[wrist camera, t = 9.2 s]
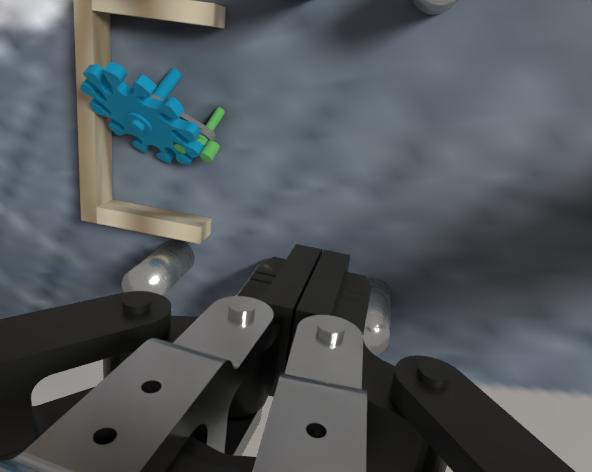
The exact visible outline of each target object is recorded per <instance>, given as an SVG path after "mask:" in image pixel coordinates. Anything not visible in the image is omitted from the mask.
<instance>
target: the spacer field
mask: <svg viewBox="0 0 592 472" xmlns="http://www.w3.org/2000/svg"><path fill="white" fill-rule="evenodd" d="M456 1H457V0H413V2H414V4H415V6H416V7H417V8H418V9H419V10H420V11H421V12H423V13H425V14H428V15H437V14H441V13H443V12H445V11H447V10H448V9H449V8H450V7H451V6H452V5H453V4H454V3H455V2H456ZM266 260H269V259H265V260H262V261H261V262H260V263H259V264H258V265H257V266H256V268H255V269H254V271H253V272H252V274H251V275H250V276H249V278H248V279H247V281H248V280H250V277H251V276H252V275H253V273H255V271H256V269H257V268H258V267H259V265H260V264H261V263H262V262H264V261H266ZM193 263H194V254H193V251H192V249H191V248H190V246H189V245H188V244H186V243H185V242H183V241H181V240H170V241H168V242H166V243H165V244H164V245H162V246H161V247H160V248H159V249H157V250H156V251H155V252H153V253H152V254H151V255H149V256H148V257H147V258H146V259H144V260H143V261H142V262H140V263H139V264H138V265H137V266H135V267H134V268H133V269H131V270H130V271H129V272H128V273H126V274H125V275H124V277H123V279H122V290H123V293H124V292H130V291H148V292H153V293H157V294H160V295H163V294H164V293H165V292H167V291H168V290H169V289H170V288H171V287H172V286H173V285H174V284H175V283H176V282H177V281H178V280H179V279H180V278H181V277H182V276H183V275H184V274H185V273H186V272H187V271H188V270H189V269H190V268H191V267H192V265H193ZM247 281H246V282H245V284H246V283H247ZM368 281H369V282H370V284H371V285H372V288H371V294H370V299H369V305H368V311H367V317H366V322H365V328H364V334H363V340H364V343H365V345H366V347H367V348H368V349H369V350H370V351H371V352H372V353H373V354H374V355H375V356H376V355H379V354H381V353H382V352H384V351H385V350H386V348H387V347H388V345H389V341H390V311H391V293H390V290H389V288H388V286H387V285H386V284H385V283H384V282H382V281H380V280H378V279H368ZM245 284H244V285H243V286H242V288H243V287H244V286H245ZM242 288H241V289H240V291H241V290H242ZM240 291H239V292H240ZM239 292H238V294H239ZM238 294H237V295H238ZM237 295H236V296H237Z"/></svg>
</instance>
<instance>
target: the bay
mask: <svg viewBox="0 0 592 472" xmlns="http://www.w3.org/2000/svg"><path fill="white" fill-rule="evenodd" d="M73 2H74V31H75V59H76V88H77V117H78V145H79V174H80V203H81V220H82V221H87V222H92V223H97V224H102V225H107V226H112V227H117V228H122V229H128V230H133V231H138V232H143V233H148V234H153V235H158V236H163V237H168V238H173V239H178V240H183V241H188V242H193V243H198V244H200V243H201V242H203V241H204V240H205V239H206V238H207V237H208V236H209V235H210V234H211V219H212V218H207V217H201V216H196V215H191V214H186V213H180V212H175V211H170V210H165V209H159V208H154V207H149V206H144V205H138V204H133V203H128V202H123V201H117V200H112V130H111V129H110V127H109V126H108V124H109V123H110V122H111V118H109V117H106V116H103V115H98V114H96V113H94V112H93V110H92V109H91V107H90V102H91V101H92V99H93V97H91V96H89V95H87V94H85V93H84V92H83V91H82V90H81V89H80V87H81V85H82V83H83V82H84V81H85V80H86V79H87V78H86V77H85V76H84V74H83V72H84V71H85V70H86V69H87V68H88V66H89V65H92V64H97V65H100V66H101V67H102V68H103V69H104V68H105V67H106V66H107V65H108V64H109V62H111V24H110V13H111V14H118V15H126V16H133V17H141V18H148V19H156V20H163V21H171V22H179V23H186V24H194V25H201V26H209V27H216V28H225V13H226V7H224V6H221V5H218V4H215V3H208V2H200V1H192V0H73ZM107 80H108V79H107Z"/></svg>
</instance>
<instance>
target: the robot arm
mask: <svg viewBox="0 0 592 472" xmlns="http://www.w3.org/2000/svg"><path fill="white" fill-rule="evenodd" d="M349 260H350V255H348V254H343V253H338V252H333V251H328V250H324V251H323V253H322V249H318V248H313V247H308V246H303V245H298V244H296V245H295V247H294V248H293V250H292V251H291V253H290V255H289V256H288V258H287V259H281V258H277V257H273V258H271V259H269V260H266V261H264V262H262V263H261V264H260V265H259V267H258V268H257V269H256V271H255V273H253V275H252V276H251V277H250V280H248V281H247V283H246V284H245V286H244V287H243V288H242V290H241V291H240V292H239V294H238V295H237V296H231V297H226V298H222V299H219V300H217V301H215V302H214V303H213V304H212V305H211V306H210V307H209V308H208V309H207V310H206V311H205V312H204V313H203V314H202V315H201V316H200V317H185V316H171V303H170V302H169V300H168V299H167V298H165V297H164V296H162V295H160V294H157V293H153V292H148V291H130V292H124V293H119V294H115V295H110V296H106V297H101V298H96V299H92V300H87V301H83V302H78V303H73V304H69V305H64V306H60V307H55V308H50V309H46V310H41V311H36V312H32V313H27V314H23V315H18V316H13V317H9V318H4V319H0V472H445V470H446V467H447V465H448V466H449V467H450V468H451V470H452V471H453V472H575V471H574V470H573V469H572V468H570V467H569V466H568V465H567V464H566V463H565V462H563V461H562V460H561V459H560V458H559V457H558V456H557V455H555V454H554V453H553V452H552V451H551V450H550V449H549V448H547V447H546V446H545V445H544V444H543V443H542V442H540V441H539V440H538V439H537V438H536V437H535V436H534V435H532V434H531V433H530V432H529V431H528V430H527V429H525V428H524V427H523V426H522V425H521V424H520V423H518V422H517V421H516V420H515V419H514V418H513V417H512V416H511V415H509V414H508V413H507V412H506V411H505V410H504V409H502V408H501V407H500V406H499V405H498V404H497V403H496V402H494V401H493V400H492V399H491V398H490V397H489V396H487V395H486V394H485V393H484V392H483V391H482V390H481V389H479V388H478V387H477V386H476V385H475V384H474V383H473V382H471V381H470V380H469V379H468V378H467V377H466V376H465V375H463V374H462V373H461V372H460V371H459V370H457V369H456V368H455V367H453V366H451V365H450V364H448V363H446V362H444V361H441V360H439V359H435V358H432V357H427V356H409V357H406V358H403V359H401V360H400V361H399V362H398V363H397V365H396V366H394V365H391V364H389V363H387V362H385V361H383V360H381V359H380V358H378V357H377V356H375V355H374V354H373V353H372V352H371V351H370V350H369V349H368V348H367V347H366V345H365V343H364V340H363V334H364V328H365V322H366V317H367V311H368V305H369V299H370V294H371V288H372V285H371V284H370V282H369V281H368V279H367V277H366V276H363V275H359V274H354V273H349V272H347V271H348V266H349ZM102 359H103V372H104V379H103V380H102V381H101V382H100V383H99V384H98V385H97V386H96V387H93V388H90V389H87V390H84V391H81V392H77V393H75V394H71V395H69V396H66V397H63V398H59V399H56V400H53V401H50V402H47V403H44V404H41V405H38V406H32V405H31V404H32V403H31V393H32V390H33V388H34V387H35V385H36V384H37V383H38V382H39V381H40V380H42V379H43V378H45V377H47V376H49V375H52V374H55V373H58V372H61V371H65V370H68V369H72V368H75V367H79V366H82V365H85V364H89V363H92V362H95V361H99V360H102ZM268 395H269V396H273V397H274V398H273V401H272V405H271V408H270V412H269V416H268V419H267V422H266V426H265V429H264V433H263V436H262V440H261V443H260V447H259V450H258V453H257V457H248V456H242V454H243V452H244V450H245V448H246V446H247V444H248V443H249V441H250V439H251V437H252V435H253V433H254V431H255V430H256V428H257V426H258V424H259V422H260V420H261V412H262V407H263V405H264V404H265V402H266V399H267V397H268Z"/></svg>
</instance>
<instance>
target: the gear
mask: <svg viewBox="0 0 592 472" xmlns="http://www.w3.org/2000/svg"><path fill="white" fill-rule="evenodd" d="M83 74H84V76H85V77H86V78H87V79H86V80H85V81H84V82H83V83H82V85H81V87H80V89H81V90H82V91H83V92H84V93H85V94H87V95H89V96H91V97H93V99H92V101H91V102H90V107H91V109H92V110H93V112H94V113H96V114H98V115H103V116H106V117H109V118H111V119H112V120H111V122H110V123H109V124H108V126H109V127H110V129H111V130H112V131H113V132H114V133H115V134H117V135H119V136H121V135H122V134H130V135H134V136H136V139H135V140H134V142H133V143H132V144H133V146H135V147H136V148H137V149H139V150H140V151H142V152H143V153H146V152H147V150H148V149H149V147H150V146H151V145H154V146H156V147H157V148H159V149H160V150H159V152H158V153H157V157H158V158H159V159H161V160H162V161H165V162H167V163H169V164H170V163H171V161H172V160H173V158H174V157H175V153H176V159H177V161H178V162H180V163H181V164H186V165H190V164H191V162H192V161H193V159H194V158H196V157H198V156H199V154H200V157H201V158H202V159H203V160H205V161H207V162H211V161H212V160H213V158H214V157H215V155H216V154H217V152H218V150H219V149H220V147H219V145H218V144H217V143H216V142H214V140H215V138H216V135H215V133H214V132H213V130H214V129H215V127H216V126H217V124H218V123H219V121H220V120H221V118H222V117H223V115H224V114H225V111H224V110H223V109H222V108H220V107H217V109H216V110H215V112H214V113H213V115H212V116H211V118H210V119H209V121H208V122H207V124H206V125H203V124H202V123H200V122H199V121H197V120H195V119H194V118H192V117H190V116H189V115H187V114H185V113H184V108H183V106H182V105H181V104H180V102H179V101H178V100H177V99H176V98H174V97H169V98H168V99H167V100H166V98H167V97H168V96H169V94H170V93H171V92H172V90H173V89H174V87H175V86H176V85H177V83H178V82H179V81H180V79H181V78H182V75H181V73H180V72H179V71H178V70H176V69H174V68H172V69H171V70H170V71H169V72H168V74H167V75H166V76H165V78H164V79H163V80H162V82H161V83H160V84H159V86H158V87H157V85H156V84H155V83H154V82H153V81H151V80H150V79H149V78H148V77H146V76H145V75H143V74H141V75H140V76H139V77H138V78H137V79H136V81H135V82H134V83H133V88H131V87H129V86H128V85H127V84H126V83H125V82H124V81H123V79H124V78H125V77H126V75H127V72H126V70H125V69H124V68H123V67H121V66H120V65H118V64H115V63H113V62H109V64H108V65H107V66H106V67H105V68H104V69H103V68H102V67H101V66H100V65H97V64H92V65H89V66H88V68H87V69H86V70H85V71H84V72H83ZM107 79H108V80H107ZM155 89H156V90H155ZM154 90H155V91H154ZM152 93H153V94H152ZM174 152H175V153H174Z"/></svg>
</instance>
